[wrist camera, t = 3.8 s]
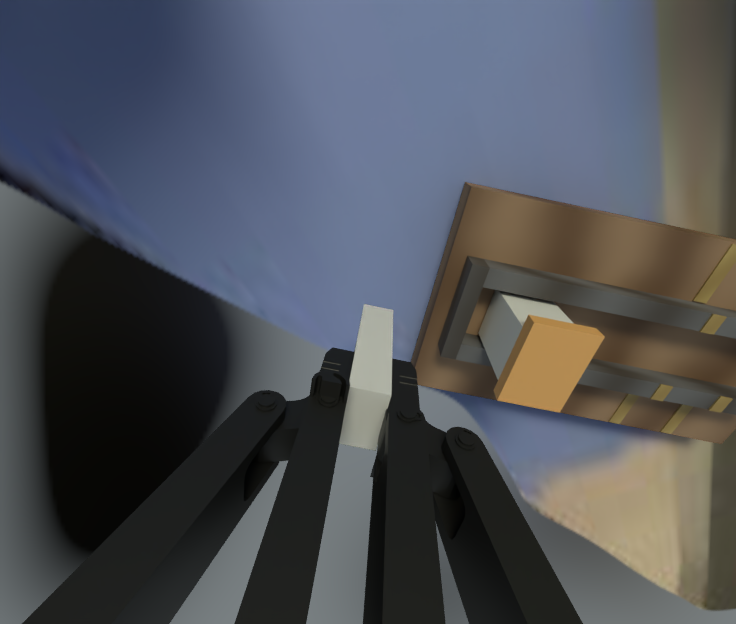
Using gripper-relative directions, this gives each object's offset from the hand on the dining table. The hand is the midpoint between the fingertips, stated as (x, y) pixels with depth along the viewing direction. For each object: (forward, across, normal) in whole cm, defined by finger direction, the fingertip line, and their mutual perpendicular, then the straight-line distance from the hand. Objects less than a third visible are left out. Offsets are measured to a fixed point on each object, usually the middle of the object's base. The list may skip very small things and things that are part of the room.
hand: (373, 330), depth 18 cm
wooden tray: (+7, +16, 0) cm, 17 cm away
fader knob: (+5, +9, 0) cm, 10 cm away
